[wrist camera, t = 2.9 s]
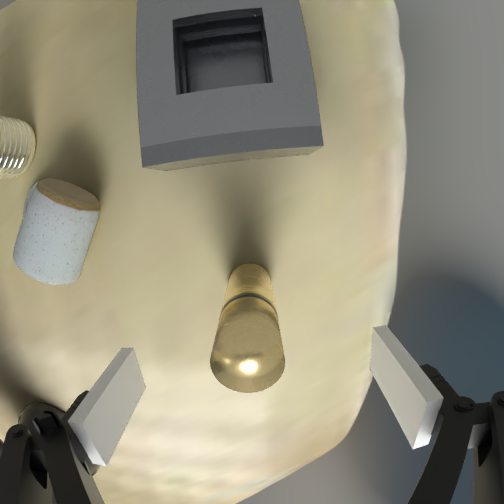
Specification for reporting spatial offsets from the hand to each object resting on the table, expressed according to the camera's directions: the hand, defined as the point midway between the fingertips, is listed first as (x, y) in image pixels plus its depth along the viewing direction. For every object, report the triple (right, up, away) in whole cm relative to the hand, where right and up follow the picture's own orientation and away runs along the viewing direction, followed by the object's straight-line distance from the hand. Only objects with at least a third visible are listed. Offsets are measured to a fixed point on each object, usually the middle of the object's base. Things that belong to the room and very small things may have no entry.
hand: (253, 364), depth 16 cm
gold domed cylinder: (0, +3, +14) cm, 14 cm away
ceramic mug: (-20, +9, +13) cm, 25 cm away
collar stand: (-2, +22, +10) cm, 24 cm away
